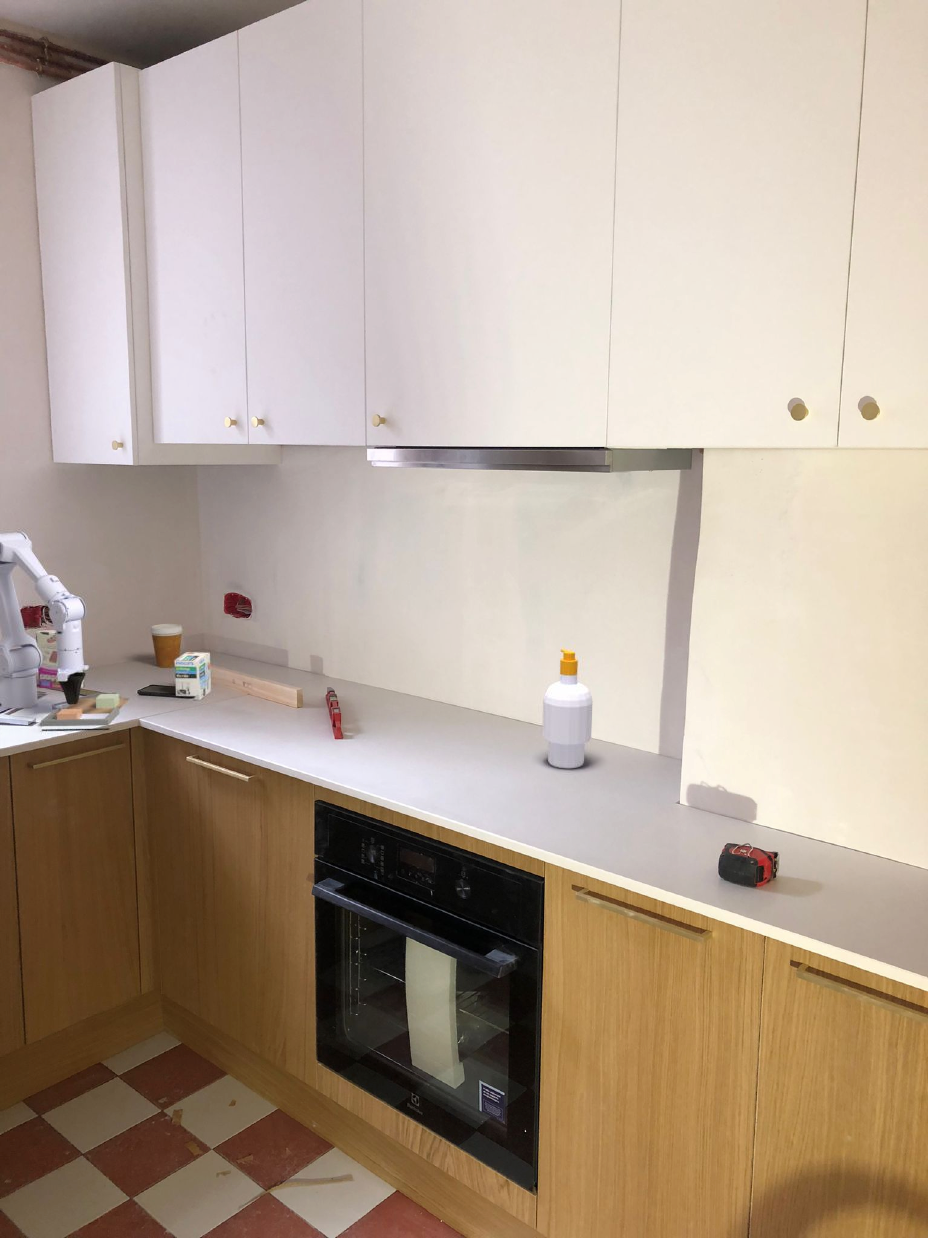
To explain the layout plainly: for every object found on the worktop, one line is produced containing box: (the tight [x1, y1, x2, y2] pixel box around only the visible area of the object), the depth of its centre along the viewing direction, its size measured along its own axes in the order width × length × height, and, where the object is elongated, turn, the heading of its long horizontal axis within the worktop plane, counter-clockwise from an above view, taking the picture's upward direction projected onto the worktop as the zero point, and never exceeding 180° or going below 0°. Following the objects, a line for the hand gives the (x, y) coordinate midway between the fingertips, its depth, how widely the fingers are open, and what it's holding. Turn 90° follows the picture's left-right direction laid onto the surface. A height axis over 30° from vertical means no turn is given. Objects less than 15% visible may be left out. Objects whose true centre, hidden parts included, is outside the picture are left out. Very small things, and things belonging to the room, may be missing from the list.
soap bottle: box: [541, 648, 593, 770], centre depth 206 cm, size 10×10×24 cm
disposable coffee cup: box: [149, 623, 184, 669], centre depth 295 cm, size 10×10×12 cm
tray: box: [40, 708, 120, 732], centre depth 232 cm, size 15×10×2 cm
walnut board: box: [65, 697, 130, 715], centre depth 245 cm, size 13×14×1 cm
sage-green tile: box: [95, 693, 120, 708], centre depth 245 cm, size 4×4×2 cm
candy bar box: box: [35, 628, 85, 690], centre depth 263 cm, size 11×5×16 cm, turn 73°
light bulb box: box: [174, 651, 212, 701], centre depth 260 cm, size 11×7×11 cm, turn 179°
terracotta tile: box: [56, 708, 83, 719], centre depth 233 cm, size 4×4×2 cm
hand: (72, 703), depth 236 cm, fingers closed
